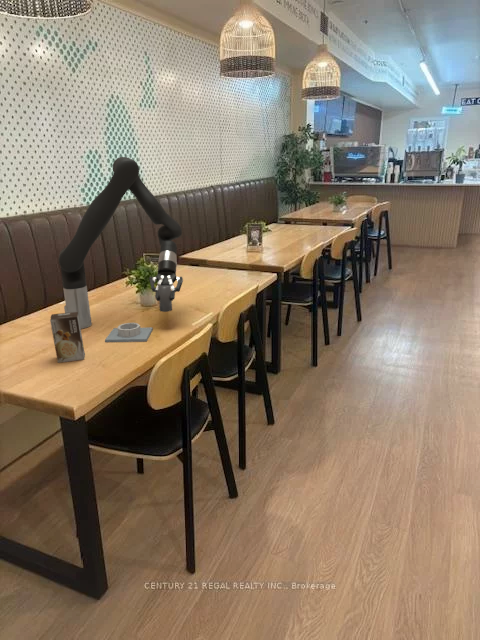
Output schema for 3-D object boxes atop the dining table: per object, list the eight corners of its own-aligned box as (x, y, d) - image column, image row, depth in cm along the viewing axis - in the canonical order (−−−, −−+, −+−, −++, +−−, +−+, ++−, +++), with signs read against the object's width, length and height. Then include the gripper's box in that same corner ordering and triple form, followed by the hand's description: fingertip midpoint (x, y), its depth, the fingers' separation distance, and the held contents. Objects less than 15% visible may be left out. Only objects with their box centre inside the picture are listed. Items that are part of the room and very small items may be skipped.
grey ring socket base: (105, 342, 178) (103, 332, 176) (114, 330, 190) (112, 321, 189) (146, 341, 178) (145, 331, 176) (152, 329, 190) (151, 320, 189)
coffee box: (85, 353, 168) (79, 311, 163) (84, 359, 162) (78, 316, 157) (58, 356, 166) (51, 313, 161) (56, 363, 160) (49, 319, 155)
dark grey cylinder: (158, 311, 186) (157, 287, 183) (160, 308, 191) (159, 284, 188) (171, 311, 186) (169, 287, 183) (172, 308, 191) (171, 284, 188)
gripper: (148, 259, 190) (145, 295, 182) (183, 259, 190) (181, 295, 182) (151, 269, 197) (148, 304, 189) (185, 268, 197) (183, 304, 189)
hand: (164, 299), depth 186 cm, fingers closed on dark grey cylinder, 5 cm apart
